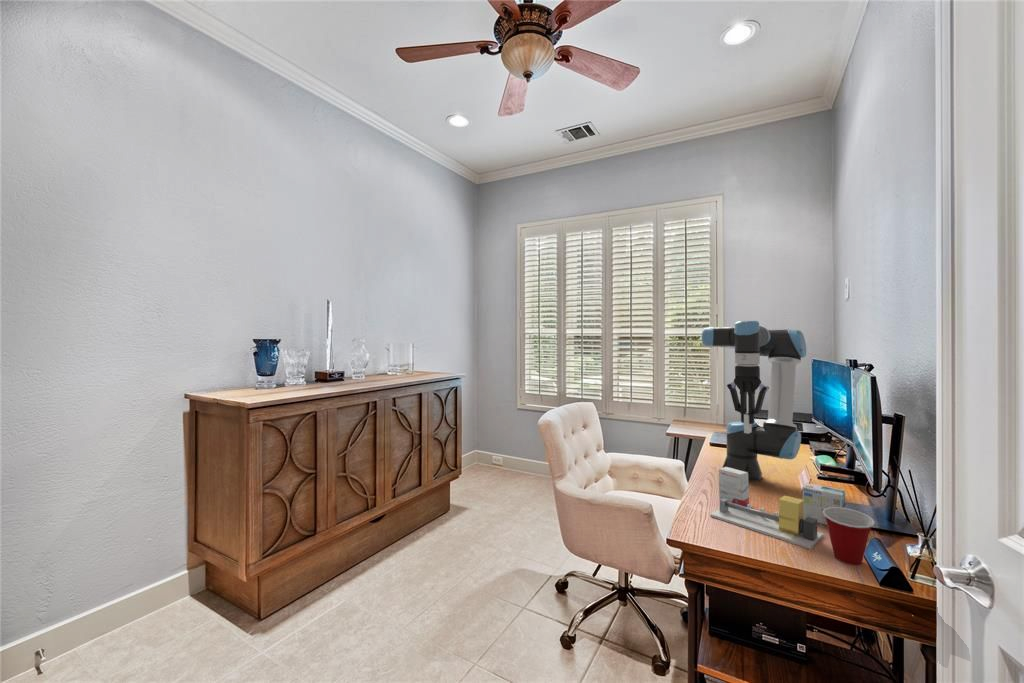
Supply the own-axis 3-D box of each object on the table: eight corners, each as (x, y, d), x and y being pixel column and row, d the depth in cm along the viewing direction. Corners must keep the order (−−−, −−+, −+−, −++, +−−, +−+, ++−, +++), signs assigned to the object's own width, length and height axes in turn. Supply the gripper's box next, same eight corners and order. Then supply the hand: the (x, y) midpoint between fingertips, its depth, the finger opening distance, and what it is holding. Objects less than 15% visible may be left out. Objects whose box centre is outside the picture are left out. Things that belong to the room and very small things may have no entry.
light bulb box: (846, 523, 133) (846, 489, 133) (843, 529, 128) (843, 495, 128) (805, 513, 140) (805, 481, 140) (801, 519, 135) (801, 486, 135)
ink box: (749, 505, 147) (749, 472, 147) (742, 508, 144) (742, 474, 144) (725, 497, 154) (725, 466, 154) (718, 500, 151) (718, 468, 151)
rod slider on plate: (710, 516, 137) (710, 498, 137) (726, 507, 145) (726, 490, 145) (810, 549, 116) (810, 527, 116) (823, 536, 123) (823, 516, 123)
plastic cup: (823, 562, 109) (823, 516, 109) (821, 545, 118) (821, 503, 118) (877, 575, 103) (878, 527, 103) (871, 557, 112) (871, 512, 112)
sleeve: (779, 529, 125) (779, 499, 125) (784, 525, 128) (784, 495, 128) (798, 535, 121) (798, 504, 121) (803, 530, 124) (803, 500, 124)
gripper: (723, 365, 146) (723, 431, 147) (764, 366, 136) (764, 437, 137) (731, 363, 151) (732, 427, 151) (772, 365, 141) (772, 433, 142)
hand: (747, 432), depth 144 cm, fingers closed
